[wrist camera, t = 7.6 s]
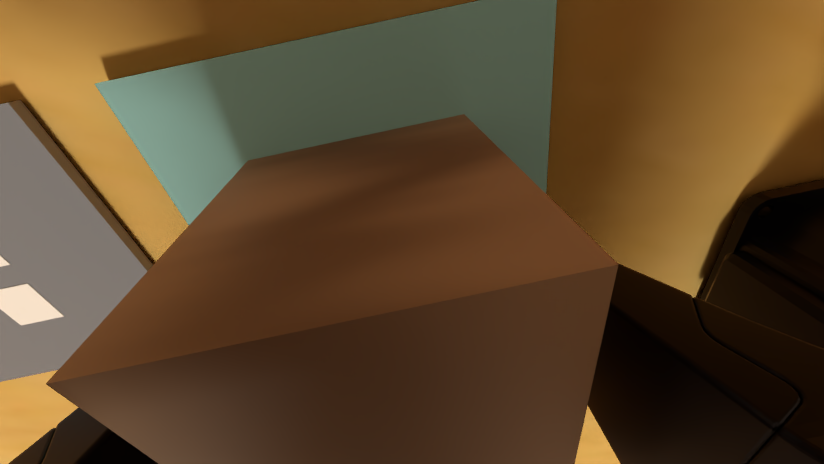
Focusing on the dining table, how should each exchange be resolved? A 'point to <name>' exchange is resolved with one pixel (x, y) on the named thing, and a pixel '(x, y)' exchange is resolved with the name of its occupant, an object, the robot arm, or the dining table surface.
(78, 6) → the dining table surface
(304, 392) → the walnut block
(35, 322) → the code tile
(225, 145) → the teal mat
